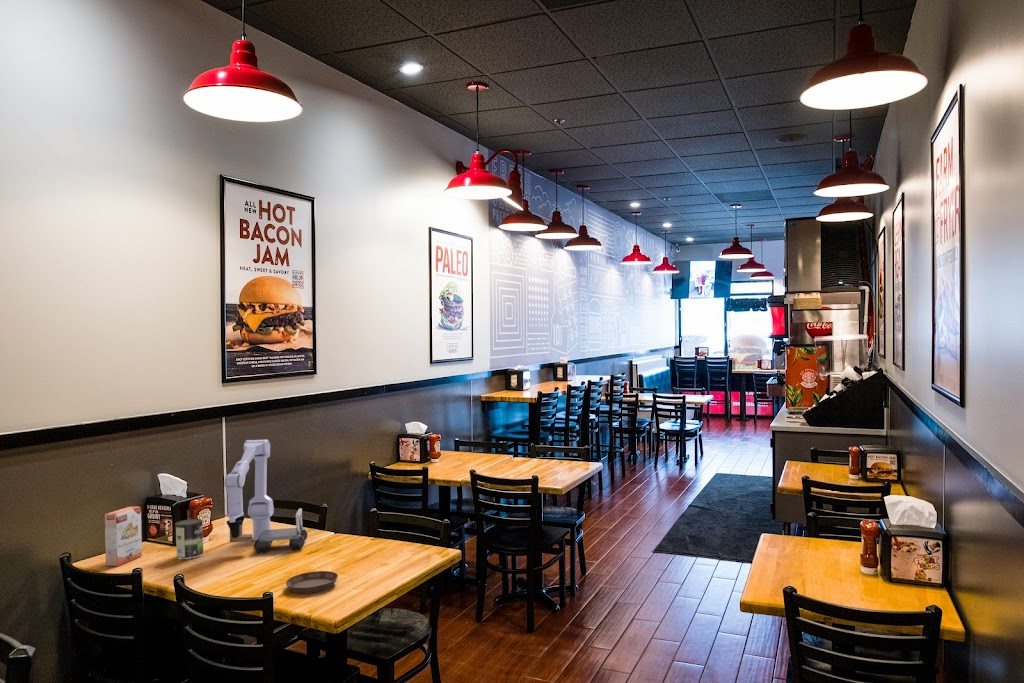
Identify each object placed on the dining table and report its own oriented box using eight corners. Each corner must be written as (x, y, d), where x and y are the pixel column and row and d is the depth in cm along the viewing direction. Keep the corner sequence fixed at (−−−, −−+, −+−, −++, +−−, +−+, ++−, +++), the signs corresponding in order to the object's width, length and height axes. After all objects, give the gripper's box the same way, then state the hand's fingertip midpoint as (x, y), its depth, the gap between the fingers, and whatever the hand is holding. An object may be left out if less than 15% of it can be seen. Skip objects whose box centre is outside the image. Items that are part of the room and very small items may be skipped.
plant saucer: (275, 591, 248) (274, 582, 248) (315, 576, 262) (314, 567, 262) (309, 599, 238) (309, 590, 238) (348, 583, 253) (348, 574, 253)
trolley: (259, 545, 306) (258, 511, 306) (307, 541, 310) (306, 507, 310) (254, 553, 294) (252, 518, 294) (304, 549, 297) (303, 514, 297)
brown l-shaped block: (232, 539, 295) (232, 525, 295) (252, 538, 297) (252, 524, 297) (229, 542, 291) (229, 527, 291) (250, 541, 292) (250, 526, 292)
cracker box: (118, 567, 282) (116, 514, 282) (105, 566, 283) (103, 514, 283) (143, 556, 296) (141, 505, 296) (130, 556, 297) (128, 505, 297)
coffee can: (208, 551, 299) (206, 518, 299) (196, 559, 289) (195, 524, 289) (183, 552, 299) (182, 519, 299) (171, 560, 289) (170, 525, 289)
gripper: (228, 499, 300) (230, 532, 300) (221, 507, 286) (222, 541, 285) (246, 498, 301) (247, 530, 301) (239, 506, 287) (240, 539, 287)
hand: (236, 536), depth 293 cm, fingers closed on brown l-shaped block, 4 cm apart
